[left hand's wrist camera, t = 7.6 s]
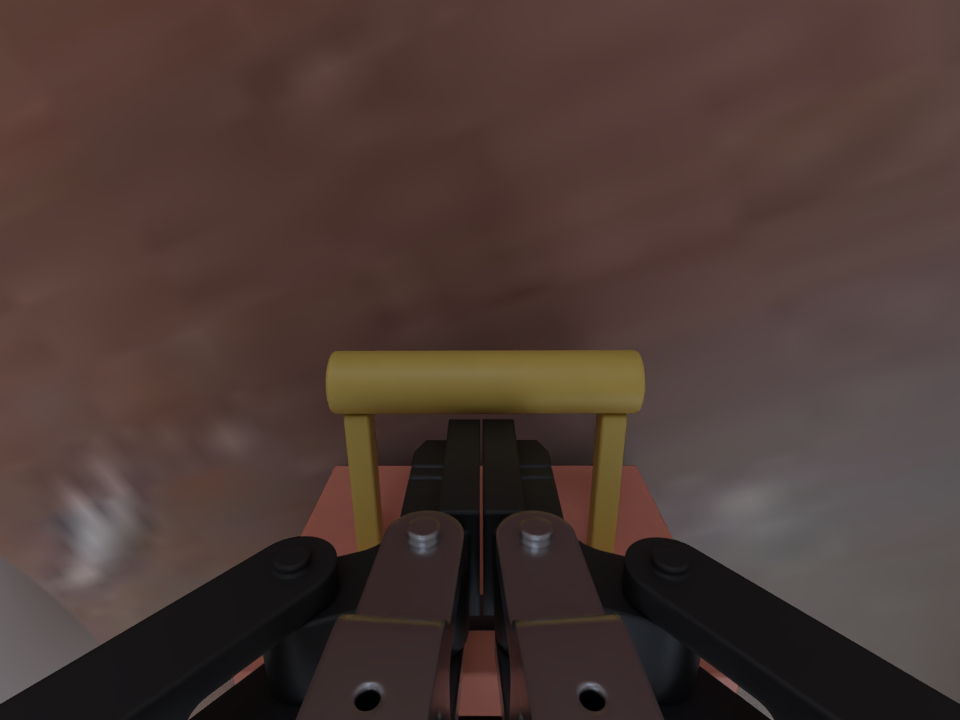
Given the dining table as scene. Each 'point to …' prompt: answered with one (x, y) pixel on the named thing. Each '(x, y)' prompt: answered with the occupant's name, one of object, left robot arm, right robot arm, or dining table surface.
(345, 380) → the drawer
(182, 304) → the dining table surface
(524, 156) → the dining table surface
